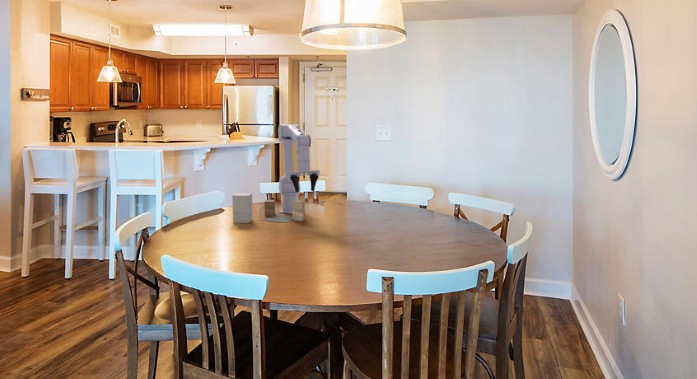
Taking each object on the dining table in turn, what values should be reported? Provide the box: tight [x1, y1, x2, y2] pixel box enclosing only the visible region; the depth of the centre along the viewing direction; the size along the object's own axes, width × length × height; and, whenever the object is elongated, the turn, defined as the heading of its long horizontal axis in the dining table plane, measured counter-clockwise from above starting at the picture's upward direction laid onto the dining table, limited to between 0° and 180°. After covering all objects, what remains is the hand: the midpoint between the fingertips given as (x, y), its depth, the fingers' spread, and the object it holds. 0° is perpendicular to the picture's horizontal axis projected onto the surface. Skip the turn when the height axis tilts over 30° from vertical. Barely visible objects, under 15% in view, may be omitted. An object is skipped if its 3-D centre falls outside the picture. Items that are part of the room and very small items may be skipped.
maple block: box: [291, 199, 306, 223], centre depth 230 cm, size 4×4×9 cm
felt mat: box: [262, 214, 292, 224], centre depth 234 cm, size 14×12×1 cm
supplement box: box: [231, 192, 254, 224], centre depth 226 cm, size 7×7×13 cm
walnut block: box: [264, 199, 276, 217], centre depth 243 cm, size 4×4×7 cm
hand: (305, 191), depth 223 cm, fingers open, 7 cm apart
